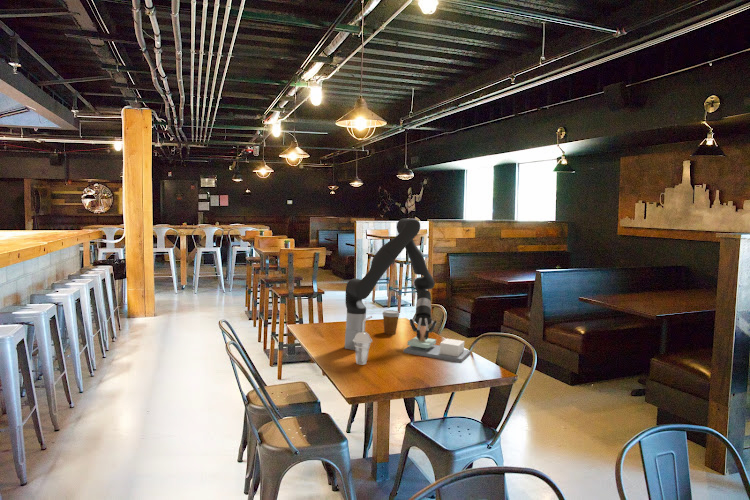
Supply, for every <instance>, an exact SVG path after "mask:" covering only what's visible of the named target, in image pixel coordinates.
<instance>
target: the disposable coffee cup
mask: <svg viewBox="0 0 750 500" xmlns="http://www.w3.org/2000/svg"><path fill="white" fill-rule="evenodd" d="M382 318H383V333H384V334H385V335H396V333H397V328H398V322H399V318H400V311H397V310H392V309H386V310H383V312H382Z"/></svg>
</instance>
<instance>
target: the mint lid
mask: <svg viewBox="0 0 750 500" xmlns="http://www.w3.org/2000/svg"><path fill="white" fill-rule="evenodd" d="M425 336H426V326H420V338H419V339H418V338H417V335H416V336H414V337H413V338H411V339H410V340H408V341H407V346H408V347H409V346H416V347H422V348H430V347H431V346H433V345H437V344H436V343H437V339H435V338H429V337H428V339H427V340H425Z"/></svg>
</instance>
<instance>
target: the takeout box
mask: <svg viewBox="0 0 750 500" xmlns="http://www.w3.org/2000/svg"><path fill="white" fill-rule="evenodd" d="M439 346H440V354H446V355H452V356H459V355H460V354H461V353H462V352H464V350H465V340H460V339H454V338H445V339H444V340H442V341H441V342H440V343H439Z"/></svg>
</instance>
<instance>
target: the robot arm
mask: <svg viewBox="0 0 750 500" xmlns="http://www.w3.org/2000/svg"><path fill="white" fill-rule="evenodd" d="M420 230H421V223H420V222H419V220H418V219H416V218H411V217H410V218H400V219H399V220H398V222H397V223H396V231H397V233H398V234H397V235H396V236H395V237H394V238H393V239H391V240H389V241H388V242H386V243H385V244H383V245H382V246H381V247H380V248H379V249H378V250H377V252H376V253H375V254H374V256H373V258H372V259H371V260H372V261H371V264H370V267H369V270H368V272H367V273H366V274H365V275H364V276H363V277H362V279H360V278H352V279H350V280H349V281H348V282H347V284H346V285H345V286H346V287H345V308H346V318H345V319H346V321H345V322H346V323H345V335H344V349H346V350H352V351H355V345H354V342H353V338H355V336H356V334H357V333H358V332H361V331H362V327H363V320H364V319H366V318H367V307H366V305H365V304H364V303H363V300H365V299H366V298H368V297H369V296H370V295H371V293H372V291H373V290H374V288H375V286H376V285H377V284H378V282H379V280H380V279H381V278H382V276H383V275H384V274H385V272H387V270H388V269H389V268H390V267H391V265H393V263H394V261H395V260H396V259H397V258H398V256H399V255H400V254H401V253H402V252H403V250H404V249H405V250H406V253H407V254H408V257H409V260H410V263H411V267H412V270H413V273H414V274H415V275H419V276H420V277H416V278H415V280H414V282H413V286H414V288H415V291H416V292H415V293H416V304H415V317H414V318H410V319H409V324H410V327H411V329H412V331H413V332H414V333H415V332H416V336H417V338H418V339H419V338H420V326H426V336H425V340H427V339H428V338H429V337H430V336H429V334H430V333H431V334H432V333H433V331H434V329H435V328H436V326H437V320H433V319H432V303H431V301H432V300H431V299H432V298H431V295H432V294H431V292H430V291H429V290H433V288H434V287H435V286H436V285H435V280H434V277H433V276H432V274H431V273H430V272H429V269H428V268H427V265H426V261H425V258H424V256H423V253H422V252H421V250H420V249H419V247H418V246H417V245H416V243H415V240H414V238H416V236H417V235H418V234H419V233H420ZM366 321H367V320H365V322H364V332H366ZM415 323H416V325H417V326H416V325H415ZM430 324H431V326H430V328H429V325H430Z"/></svg>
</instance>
